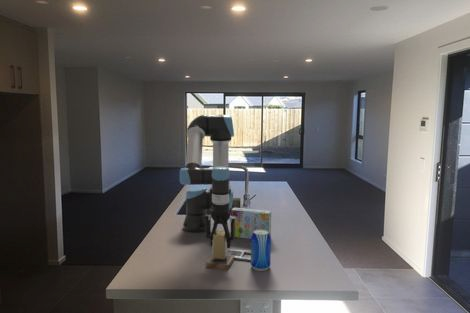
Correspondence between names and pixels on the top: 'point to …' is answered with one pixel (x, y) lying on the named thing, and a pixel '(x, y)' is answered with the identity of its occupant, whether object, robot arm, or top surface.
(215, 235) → the brass rectangular block
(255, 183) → the top surface
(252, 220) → the snack box
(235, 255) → the grey slotted plate
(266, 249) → the beer can
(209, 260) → the pad
